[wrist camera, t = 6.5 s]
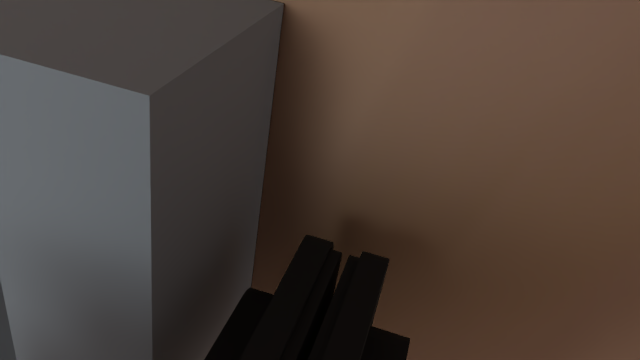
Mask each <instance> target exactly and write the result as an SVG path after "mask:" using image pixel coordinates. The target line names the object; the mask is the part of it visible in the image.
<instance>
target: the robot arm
mask: <svg viewBox="0 0 640 360" xmlns="http://www.w3.org/2000/svg"><path fill="white" fill-rule="evenodd" d="M333 246H334V243H333V242H331V241H327V240H324V239H321V238H317V237H314V236H311V235H306V236H305V237H304V239H303V241H302V243H301V245H300V247H299V248H298V250H297V252H296V254H295V256H294V258H293V260H292V262H291V263H290V265H289V267H288V269H287V271H286V273H285V275H284V277H283V278H282V280H281V282H280V284H279V286H278V288H277V290H276V292H275V293H274V295H272V294H269V293H266V292H263V291H259V290H256V289H253V288H249V289H247V290H246V292H245V293H244V294H243V296H242V298H241V299H240V301H239V302H238V304H237V306H236V307H235V309H234V311H233V312H232V314H231V316H230V317H229V319H228V321H227V322H226V324H225V326H224V327H223V329H222V331H221V332H220V334H219V336H218V337H217V339H216V341H215V342H214V344H213V346H212V347H211V349H210V351H209V352H208V354H207V356H206V357H205V359H204V360H406V358H407V353H408V348H409V343H410V338H407V337H404V336H401V335H398V334H395V333H391V332H388V331H385V330H382V329H379V328H376V327H373V326H372V323H373V319H374V315H375V312H376V308H377V304H378V301H379V297H380V293H381V289H382V286H383V282H384V278H385V275H386V271H387V267H388V263H389V259H388V258H385V257H381V256H378V255H375V254H371V253H368V252H365V251H362V253H361V256H360V258H358V257H355V256H352V255H350V256H349V258H348V260H347V263H346V265H345V268H344V270H343V273H342V275H341V278H340V280H339V283H338V285H337V288H336V290H335V285H336V281H337V276H338V271H339V266H340V262H341V257H342V252H338V251H335V250H333ZM334 290H335V293H334Z"/></svg>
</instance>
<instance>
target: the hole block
mask: <svg viewBox="0 0 640 360" xmlns="http://www.w3.org/2000/svg"><path fill="white" fill-rule="evenodd" d="M283 7H284V3H280V2H276V1H272V0H0V360H204V359H205V357H206V356H207V354H208V352H209V351H210V349H211V347H212V346H213V344H214V342H215V341H216V339H217V337H218V336H219V334H220V332H221V331H222V329H223V327H224V326H225V324H226V322H227V321H228V319H229V317H230V316H231V314H232V312H233V311H234V309H235V307H236V306H237V304H238V302H239V301H240V299H241V298H242V296H243V294H244V293H245V292H246V290H247V289H249V288H251V282H252V274H253V265H254V256H255V248H256V239H257V231H258V222H259V213H260V205H261V196H262V188H263V179H264V170H265V162H266V153H267V145H268V136H269V127H270V119H271V110H272V102H273V93H274V84H275V76H276V67H277V59H278V50H279V41H280V33H281V24H282V15H283Z"/></svg>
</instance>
